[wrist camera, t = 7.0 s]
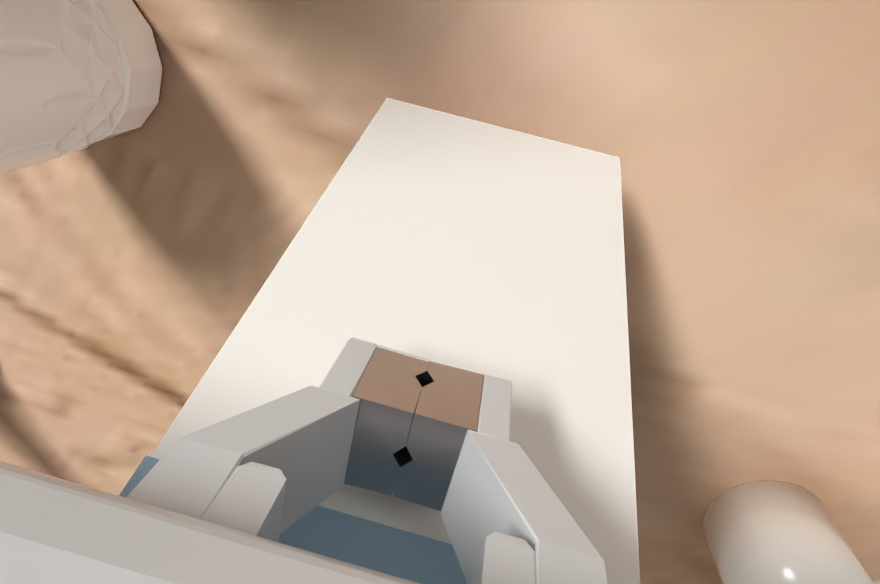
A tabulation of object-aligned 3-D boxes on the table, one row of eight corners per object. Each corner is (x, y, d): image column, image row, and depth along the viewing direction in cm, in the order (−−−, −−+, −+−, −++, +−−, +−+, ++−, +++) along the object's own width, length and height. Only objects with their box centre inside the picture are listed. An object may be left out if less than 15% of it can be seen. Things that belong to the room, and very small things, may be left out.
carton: (621, 156, 18) (667, 1009, 6) (546, 313, 24) (490, 878, 12) (385, 95, 18) (-66, 773, 6) (371, 266, 24) (138, 767, 12)
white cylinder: (851, 502, 26) (935, 619, 21) (786, 573, 29) (844, 693, 23) (737, 466, 26) (790, 574, 21) (683, 541, 29) (717, 653, 24)
